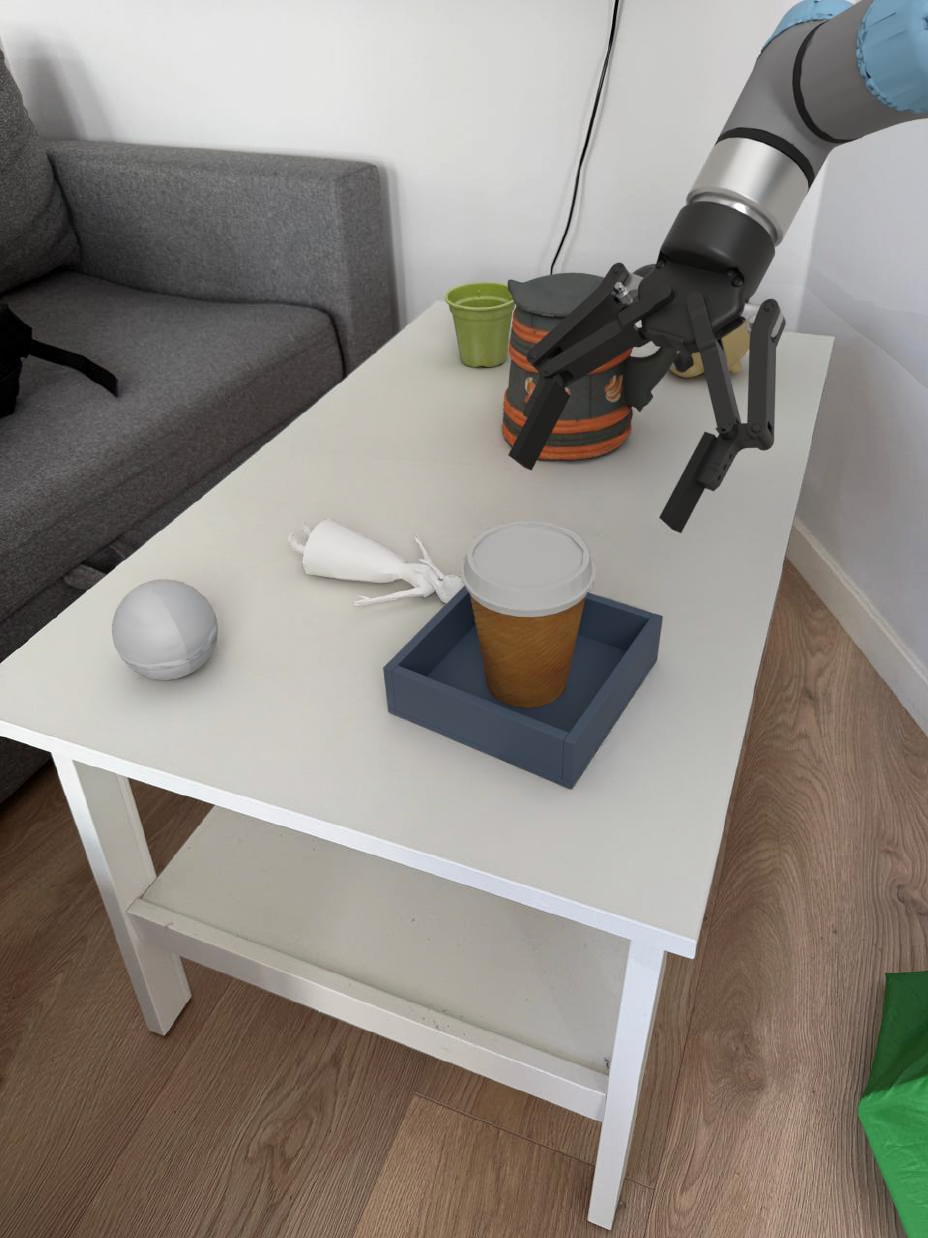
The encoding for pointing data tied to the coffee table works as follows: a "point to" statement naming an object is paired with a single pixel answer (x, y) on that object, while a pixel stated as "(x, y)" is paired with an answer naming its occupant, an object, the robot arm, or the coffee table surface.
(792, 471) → the coffee table surface
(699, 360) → the toy pig
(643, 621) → the bin
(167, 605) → the bath bomb
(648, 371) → the lidded tankard
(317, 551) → the woman figurine
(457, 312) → the plant pot
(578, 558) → the disposable coffee cup
